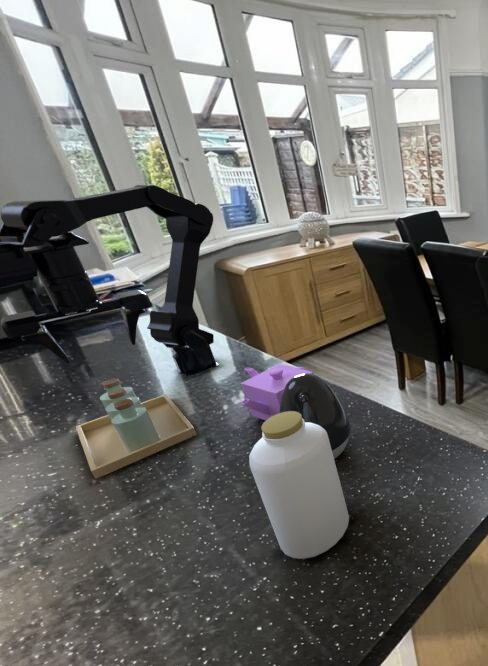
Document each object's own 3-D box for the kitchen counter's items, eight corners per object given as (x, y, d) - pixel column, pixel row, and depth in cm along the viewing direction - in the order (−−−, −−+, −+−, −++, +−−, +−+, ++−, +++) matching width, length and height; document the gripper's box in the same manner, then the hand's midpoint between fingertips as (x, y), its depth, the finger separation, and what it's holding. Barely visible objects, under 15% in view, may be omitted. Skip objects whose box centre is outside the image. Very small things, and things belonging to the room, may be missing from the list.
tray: (169, 401, 81) (166, 393, 80) (197, 436, 71) (193, 427, 70) (80, 435, 72) (75, 426, 71) (97, 481, 61) (91, 471, 60)
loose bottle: (157, 434, 71) (137, 392, 67) (164, 444, 68) (143, 400, 65) (125, 447, 68) (102, 404, 64) (130, 458, 65) (107, 413, 61)
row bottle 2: (150, 423, 74) (130, 382, 70) (156, 432, 71) (135, 390, 68) (118, 435, 71) (96, 393, 67) (123, 445, 68) (101, 401, 65)
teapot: (221, 425, 73) (203, 381, 69) (283, 389, 84) (271, 349, 80) (289, 450, 67) (273, 402, 63) (347, 407, 78) (337, 364, 74)
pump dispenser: (288, 487, 59) (259, 403, 53) (288, 446, 68) (264, 369, 62) (358, 463, 63) (340, 383, 57) (350, 427, 72) (333, 354, 66)
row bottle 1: (143, 412, 77) (123, 372, 73) (148, 420, 74) (129, 380, 71) (113, 423, 74) (91, 382, 70) (117, 432, 71) (95, 390, 68)
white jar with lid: (297, 510, 55) (262, 403, 48) (357, 505, 56) (331, 398, 49) (269, 566, 48) (221, 449, 40) (339, 560, 48) (305, 443, 41)
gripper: (124, 258, 81) (153, 327, 87) (-20, 280, 68) (27, 359, 74) (136, 265, 74) (166, 340, 81) (-20, 291, 61) (31, 378, 67)
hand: (102, 352), depth 76 cm, fingers open, 9 cm apart
